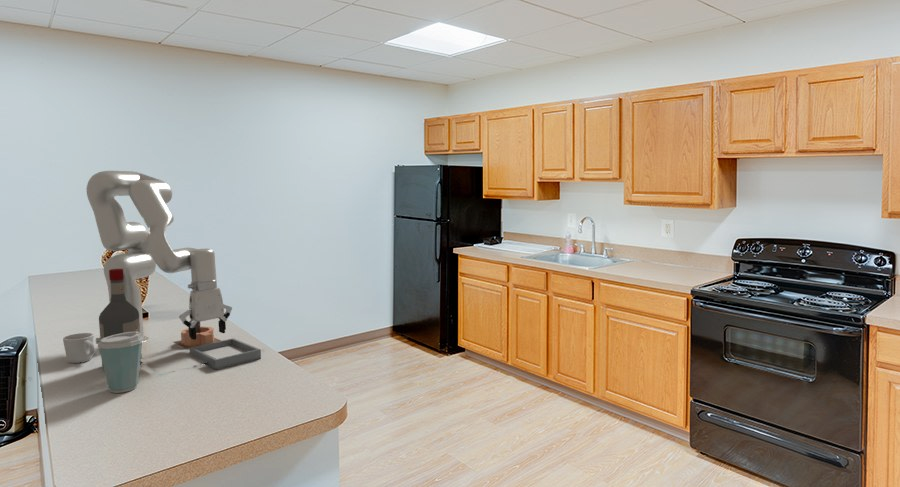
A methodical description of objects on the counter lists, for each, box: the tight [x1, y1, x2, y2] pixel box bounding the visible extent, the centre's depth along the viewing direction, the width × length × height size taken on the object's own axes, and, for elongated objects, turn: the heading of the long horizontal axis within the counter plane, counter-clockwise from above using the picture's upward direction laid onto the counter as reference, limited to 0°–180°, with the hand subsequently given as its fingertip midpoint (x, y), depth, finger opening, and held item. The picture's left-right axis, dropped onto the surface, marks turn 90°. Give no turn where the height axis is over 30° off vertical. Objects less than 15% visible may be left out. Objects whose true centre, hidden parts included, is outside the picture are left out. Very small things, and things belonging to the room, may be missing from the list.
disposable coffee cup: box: [97, 332, 144, 394], centre depth 148 cm, size 11×11×15 cm
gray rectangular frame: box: [189, 338, 262, 371], centre depth 175 cm, size 15×19×3 cm
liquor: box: [98, 269, 143, 369], centre depth 165 cm, size 9×9×30 cm
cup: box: [62, 332, 95, 364], centre depth 171 cm, size 11×8×8 cm
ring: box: [180, 326, 215, 346], centre depth 187 cm, size 10×14×4 cm
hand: (208, 335), depth 183 cm, fingers open, 9 cm apart
